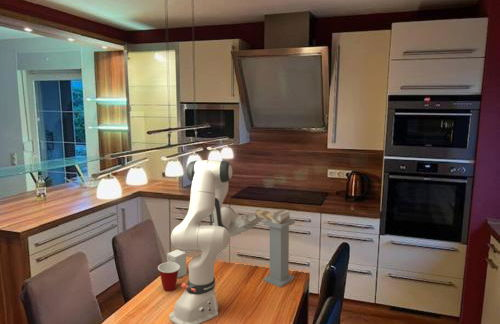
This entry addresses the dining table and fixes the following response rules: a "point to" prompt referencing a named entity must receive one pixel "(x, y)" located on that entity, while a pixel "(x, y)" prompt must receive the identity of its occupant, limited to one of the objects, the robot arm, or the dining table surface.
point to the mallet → (274, 215)
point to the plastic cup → (169, 275)
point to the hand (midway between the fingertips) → (262, 214)
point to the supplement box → (178, 261)
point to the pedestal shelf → (279, 253)
